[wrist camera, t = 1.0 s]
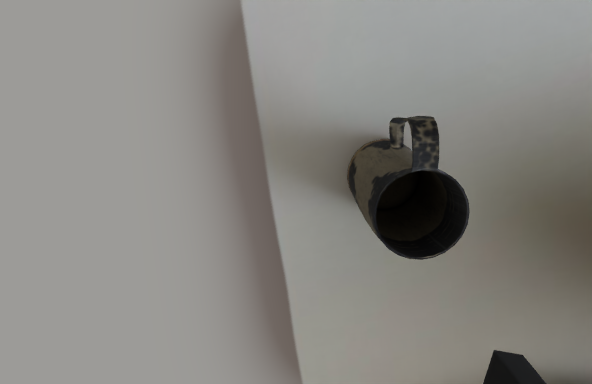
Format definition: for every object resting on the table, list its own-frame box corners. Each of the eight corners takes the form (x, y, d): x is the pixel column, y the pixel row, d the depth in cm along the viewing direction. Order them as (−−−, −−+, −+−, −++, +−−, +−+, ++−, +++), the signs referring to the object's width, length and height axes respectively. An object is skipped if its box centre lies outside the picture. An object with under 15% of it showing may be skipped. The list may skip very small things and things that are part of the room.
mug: (419, 209, 34) (481, 272, 23) (348, 214, 34) (373, 278, 23) (418, 106, 32) (484, 115, 21) (344, 111, 33) (367, 123, 21)
